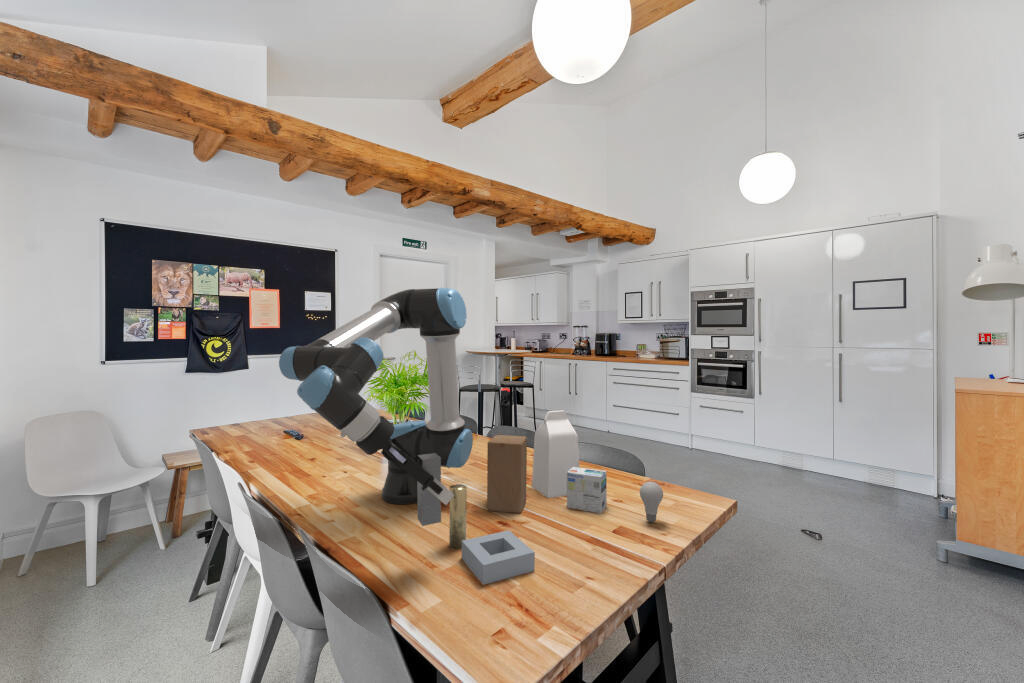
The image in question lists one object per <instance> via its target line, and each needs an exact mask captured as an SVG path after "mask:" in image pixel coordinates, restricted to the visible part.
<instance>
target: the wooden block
mask: <svg viewBox="0 0 1024 683" xmlns="http://www.w3.org/2000/svg"><path fill="white" fill-rule="evenodd" d="M527 443H528V438H527V436H524V435H507V434H495V435H494V436H493V437H491V439H490V440H488V442H487V460H486V461H487V466H486V468H487V476H486V480H487V481H486V482H487V483H486V484H487V485H486V488H487V489H486V497H487V498H486V509H487V511H492V512H502V513H512V514H513V513H514V514H521V512H522V510H523V509H524V506H525V504H526V502H527V471H528V470H527V469H528V466H527V463H528V462H527V458H528V457H527V452H528V451H527V450H528V447H527V446H528V444H527Z"/></svg>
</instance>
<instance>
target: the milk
mask: <svg viewBox="0 0 1024 683" xmlns="http://www.w3.org/2000/svg"><path fill="white" fill-rule="evenodd" d="M533 439H534V440H533V458H532V459H533V460H532V476H531V477H532V480H531V487H532V488H533V489H534V490H535V491H539V493H540V494H542V495H543V496H544V497H546V498H547V499H551V498H558V497H564V496H567V472H568V471H569V470H570V469H571V468H572V467H578V468H580V455H579V454H580V453H579V450H580V449H579V436H578V433H577V431H576V430H575V428H574V427H573V425H572V423H571V422H570V420H569V419H568V416H567V413H566V411H565V410H550V411H547V412H546V414H545V416H544V420H543V421H541V423H540V424H539V426H538V427H537V428H536V429H535V432H534V438H533Z"/></svg>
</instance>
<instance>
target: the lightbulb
mask: <svg viewBox="0 0 1024 683" xmlns="http://www.w3.org/2000/svg"><path fill="white" fill-rule="evenodd" d="M639 496H640V499H641V501H642V503H643V505H644V512H645V518H646V521H648V522H649V524H651V523H655V522H656V521H657V514H658V508H659V506H660V504H661V502H662V501H663V498H664V491H663V487H661V486H660V484H658V483H657V482H654V481H647V482H646V481H645V482H644V483H643V484H642V485H641V486H640V488H639Z"/></svg>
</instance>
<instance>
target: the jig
mask: <svg viewBox="0 0 1024 683" xmlns="http://www.w3.org/2000/svg"><path fill="white" fill-rule="evenodd" d="M535 553H536V552H535V551H534V550H533V549H532V548H531V547H529V545H527V544H526V543H525V542H524V541H522V539H520V538H519V537H517V536H516V534H514V533H513V532H512V531H511V530H509V529H508V530H504V531H498V532H494V533H489V534H485V535H480V536H478V537H477V536H476V537H473V538H469V539H467V538H466V540H463V541H462V549H461V559H462V561H463V562H464V563H465V564H466V566H467V567H468V568H469V569H470V570H471V572H472V573H473V574H474V575H475V577H476V578H477V579H478V580H479V581H480V583H481V584H482V586H483V585H489V584H491V583H495V582H498V581H502V580H506V579H509V578H513V577H517V576H520V575H525V574H528V573H531V572H534V571H535V568H536V567H535V566H536V565H535V561H536V560H535Z"/></svg>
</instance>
